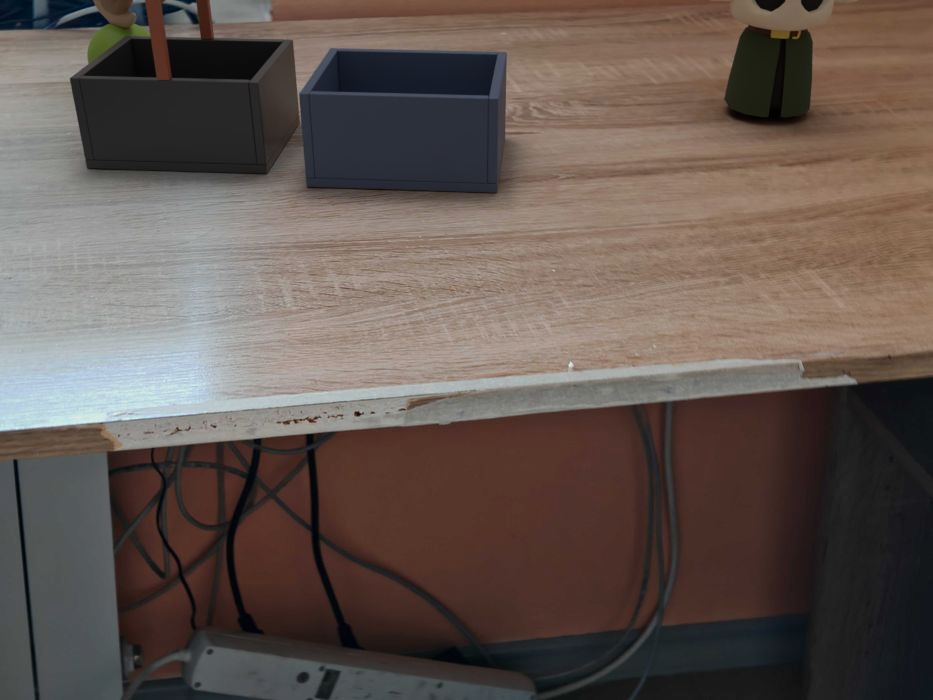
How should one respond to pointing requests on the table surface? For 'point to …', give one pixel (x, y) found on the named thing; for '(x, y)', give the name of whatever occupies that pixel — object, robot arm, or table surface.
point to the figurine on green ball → (113, 26)
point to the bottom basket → (405, 120)
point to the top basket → (187, 101)
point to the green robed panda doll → (774, 55)
